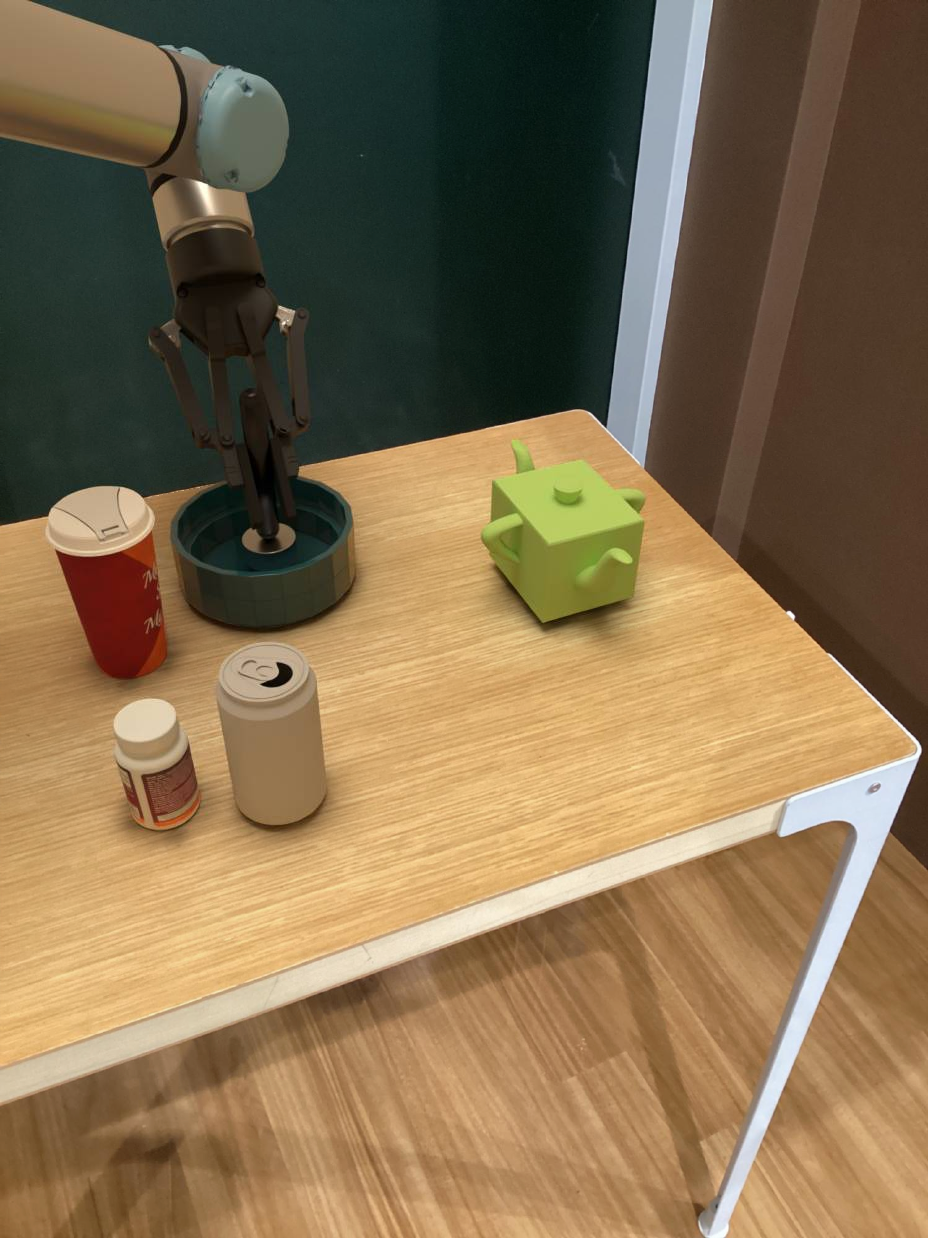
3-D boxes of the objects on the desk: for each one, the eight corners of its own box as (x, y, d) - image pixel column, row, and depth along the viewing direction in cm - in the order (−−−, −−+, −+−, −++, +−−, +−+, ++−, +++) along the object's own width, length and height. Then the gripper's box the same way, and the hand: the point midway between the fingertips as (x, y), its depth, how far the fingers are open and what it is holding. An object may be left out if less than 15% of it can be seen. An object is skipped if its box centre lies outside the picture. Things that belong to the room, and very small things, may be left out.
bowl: (178, 642, 87) (167, 584, 83) (183, 536, 99) (173, 480, 95) (364, 623, 89) (361, 566, 86) (347, 522, 101) (344, 467, 97)
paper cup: (196, 665, 85) (168, 518, 76) (102, 701, 82) (61, 553, 73) (158, 613, 90) (128, 470, 81) (68, 645, 87) (26, 500, 78)
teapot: (618, 655, 87) (633, 549, 80) (461, 623, 90) (462, 518, 83) (648, 550, 98) (663, 450, 91) (507, 525, 101) (512, 425, 94)
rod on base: (244, 574, 91) (220, 405, 80) (243, 543, 94) (220, 377, 84) (299, 569, 91) (282, 401, 81) (296, 538, 95) (279, 373, 85)
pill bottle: (211, 784, 76) (193, 698, 70) (185, 837, 72) (165, 750, 67) (147, 774, 76) (125, 689, 71) (119, 826, 72) (94, 740, 67)
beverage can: (301, 843, 72) (286, 715, 64) (217, 816, 73) (192, 688, 66) (342, 776, 76) (332, 650, 69) (262, 752, 78) (244, 627, 70)
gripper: (295, 254, 93) (357, 515, 92) (118, 275, 89) (179, 548, 88) (305, 213, 86) (372, 495, 85) (113, 233, 82) (179, 531, 80)
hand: (274, 522), depth 86 cm, fingers closed on rod on base, 2 cm apart
